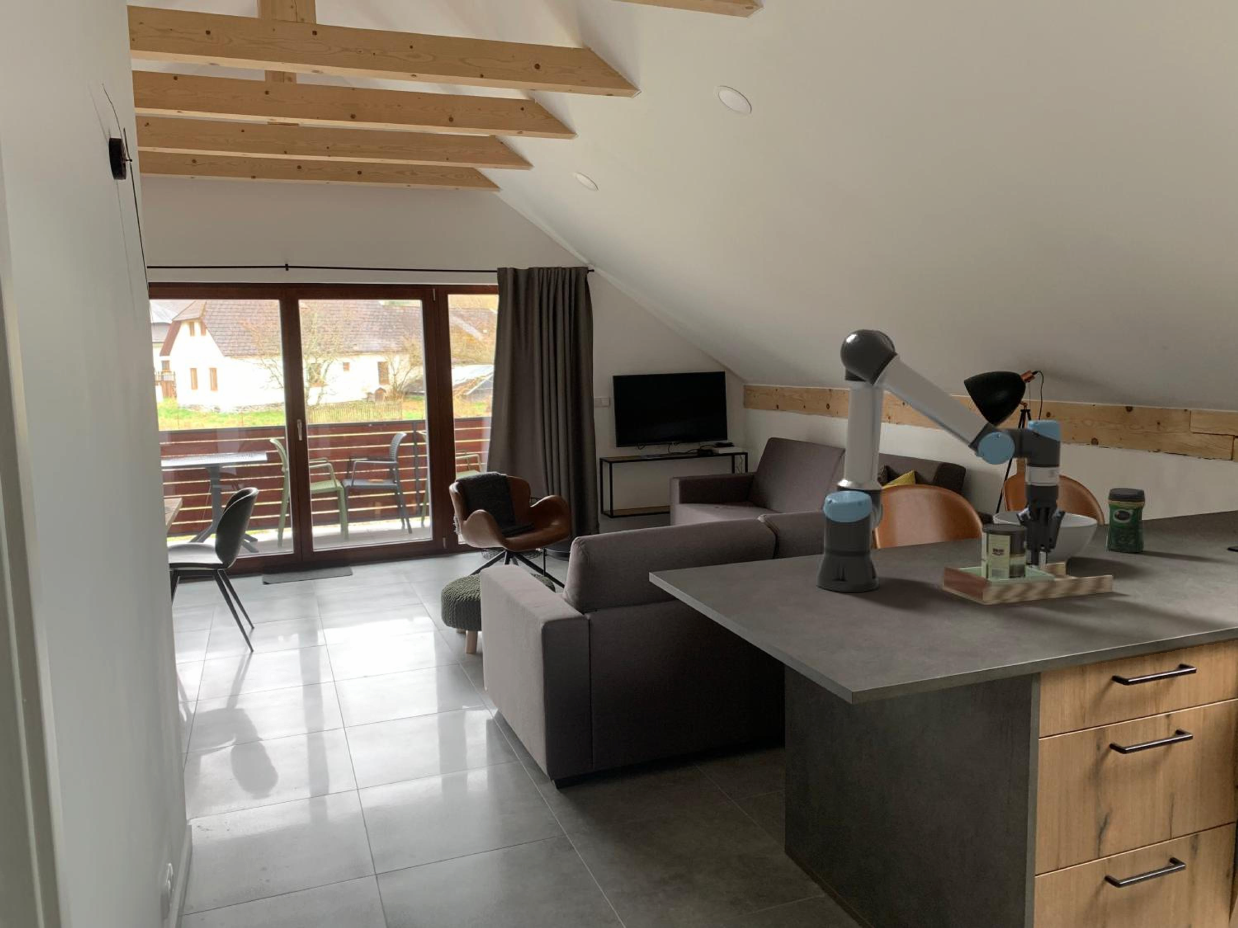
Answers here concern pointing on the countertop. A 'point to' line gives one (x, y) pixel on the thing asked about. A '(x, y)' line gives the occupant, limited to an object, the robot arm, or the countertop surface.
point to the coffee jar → (1125, 520)
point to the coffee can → (1003, 551)
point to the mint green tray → (1030, 577)
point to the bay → (1023, 586)
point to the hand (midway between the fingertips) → (1038, 577)
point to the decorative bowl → (1060, 535)
